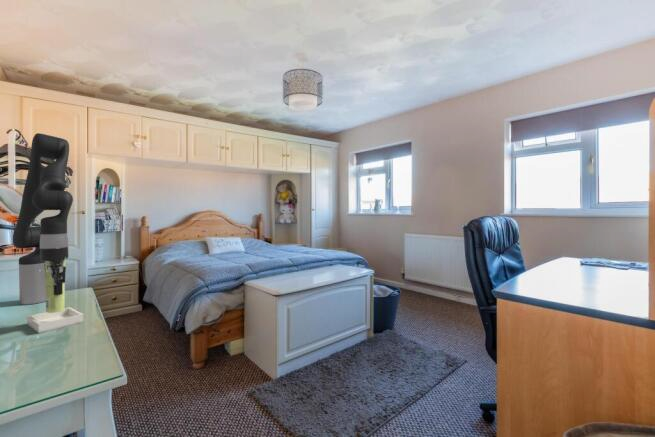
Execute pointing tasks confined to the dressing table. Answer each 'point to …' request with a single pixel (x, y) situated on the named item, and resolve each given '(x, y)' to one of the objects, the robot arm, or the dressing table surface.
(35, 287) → the robot arm
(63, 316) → the tray
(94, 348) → the dressing table surface
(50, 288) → the tube
